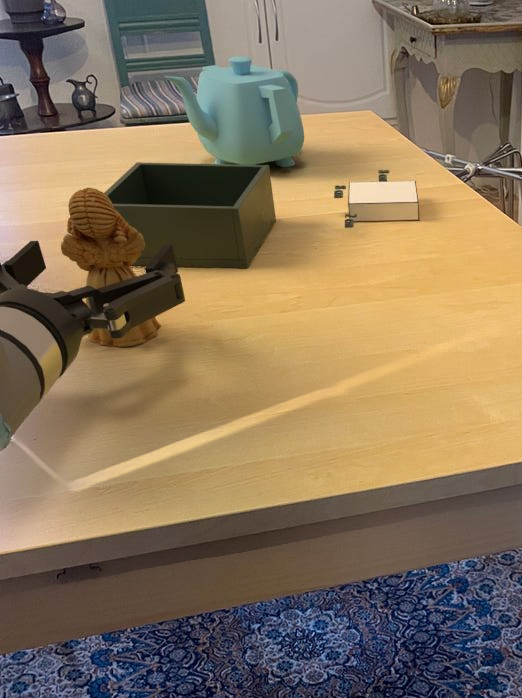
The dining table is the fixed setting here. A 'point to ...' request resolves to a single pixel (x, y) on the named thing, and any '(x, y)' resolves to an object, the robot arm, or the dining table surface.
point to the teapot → (245, 113)
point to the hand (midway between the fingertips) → (105, 255)
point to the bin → (197, 211)
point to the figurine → (104, 254)
